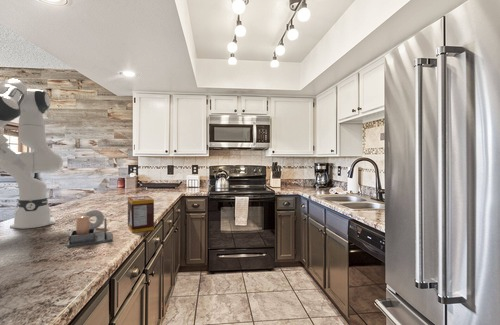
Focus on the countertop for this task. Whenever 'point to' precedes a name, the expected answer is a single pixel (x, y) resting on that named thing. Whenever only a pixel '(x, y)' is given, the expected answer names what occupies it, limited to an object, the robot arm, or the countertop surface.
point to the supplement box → (140, 213)
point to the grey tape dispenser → (90, 237)
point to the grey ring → (98, 215)
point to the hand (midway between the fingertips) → (27, 169)
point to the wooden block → (82, 225)
